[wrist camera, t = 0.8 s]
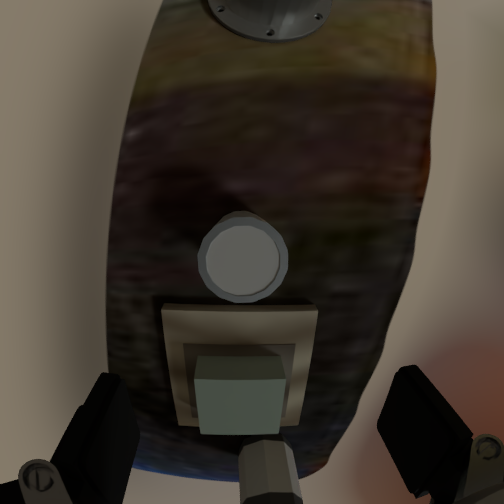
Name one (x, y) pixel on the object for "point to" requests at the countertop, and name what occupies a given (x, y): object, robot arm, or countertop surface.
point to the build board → (238, 346)
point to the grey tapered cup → (242, 258)
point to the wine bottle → (268, 471)
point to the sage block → (239, 394)
